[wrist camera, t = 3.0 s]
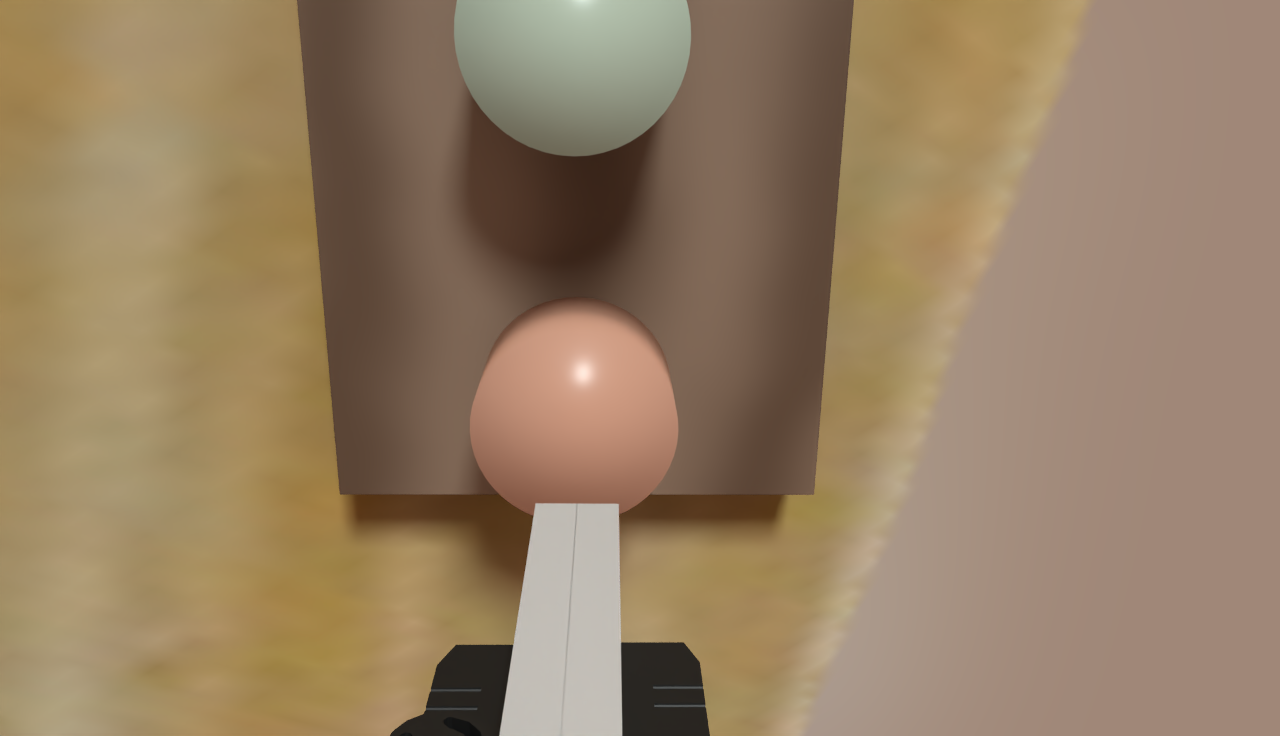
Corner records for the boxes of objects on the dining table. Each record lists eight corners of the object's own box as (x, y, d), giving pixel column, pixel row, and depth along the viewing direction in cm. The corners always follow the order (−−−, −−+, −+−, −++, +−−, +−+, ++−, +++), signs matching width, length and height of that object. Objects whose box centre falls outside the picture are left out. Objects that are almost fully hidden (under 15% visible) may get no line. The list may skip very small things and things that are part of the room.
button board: (362, 452, 33) (339, 494, 30) (284, -550, 24) (243, -624, 22) (796, 453, 33) (813, 494, 31) (867, -527, 25) (902, -597, 22)
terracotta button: (486, 472, 28) (473, 523, 25) (480, 296, 27) (465, 330, 24) (668, 472, 28) (675, 523, 26) (673, 297, 27) (681, 331, 24)
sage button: (475, 138, 25) (458, 154, 22) (466, -83, 24) (448, -96, 21) (677, 141, 25) (687, 158, 23) (684, -78, 24) (695, -90, 21)
